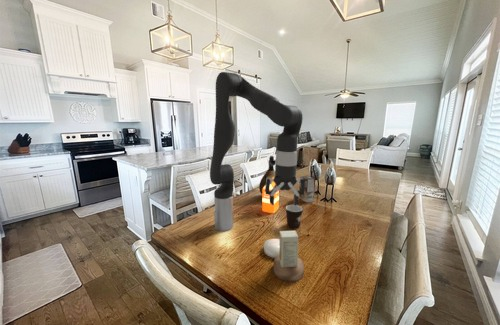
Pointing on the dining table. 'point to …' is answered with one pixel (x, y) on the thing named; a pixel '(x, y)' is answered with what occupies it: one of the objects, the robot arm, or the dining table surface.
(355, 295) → the dining table surface
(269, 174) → the ceramic jug
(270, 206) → the orange juice
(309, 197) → the coffee box
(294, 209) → the coffee mug
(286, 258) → the skincare box
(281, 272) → the pinkish brown pedestal
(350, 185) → the dining table surface
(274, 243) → the white rounded piece
